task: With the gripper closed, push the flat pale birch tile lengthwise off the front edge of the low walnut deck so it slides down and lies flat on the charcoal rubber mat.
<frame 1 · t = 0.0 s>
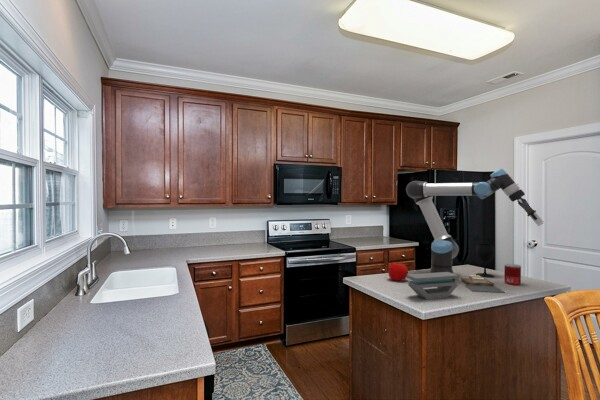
hand: (541, 224, 176), 36 cm above the counter, tool tilted 35°, fingers open, 13 cm apart
walnut deck: (476, 284, 187), on the counter
canned food: (512, 284, 188), on the counter
tomato: (398, 280, 195), on the counter
birch tile: (476, 280, 187), point 2 cm above the counter, touching walnut deck
rubber mat: (484, 289, 176), on the counter
wine glass: (484, 276, 207), on the counter
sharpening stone: (432, 296, 163), on the counter
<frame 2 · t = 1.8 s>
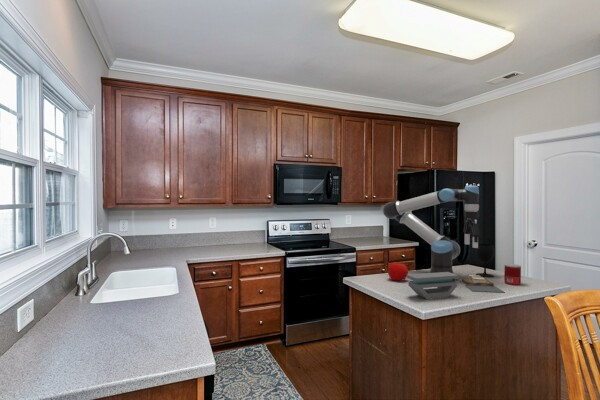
hand: (471, 246, 196), 21 cm above the counter, tool pointing down, fingers open, 13 cm apart
nothing on the counter moved.
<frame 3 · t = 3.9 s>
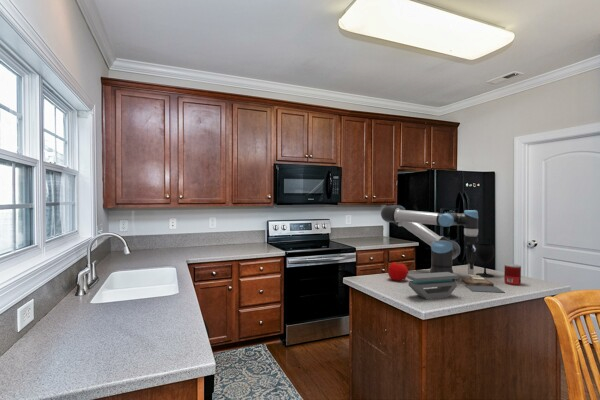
hand: (470, 274, 197), 3 cm above the counter, tool pointing down, fingers closed
nothing on the counter moved.
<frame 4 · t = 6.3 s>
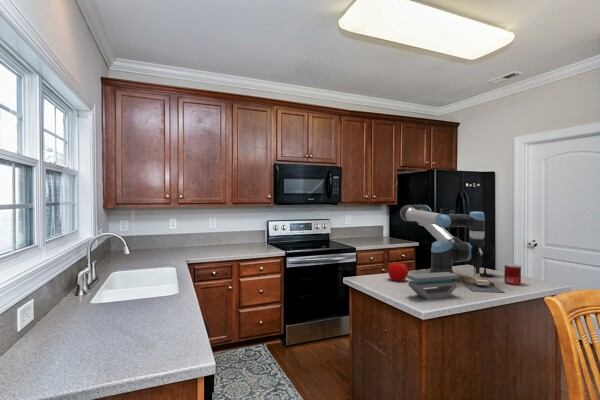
hand: (476, 278, 187), 3 cm above the counter, tool pointing down, fingers closed
birch tile: (480, 282, 182), point 2 cm above the counter, touching gripper
everything else where it was.
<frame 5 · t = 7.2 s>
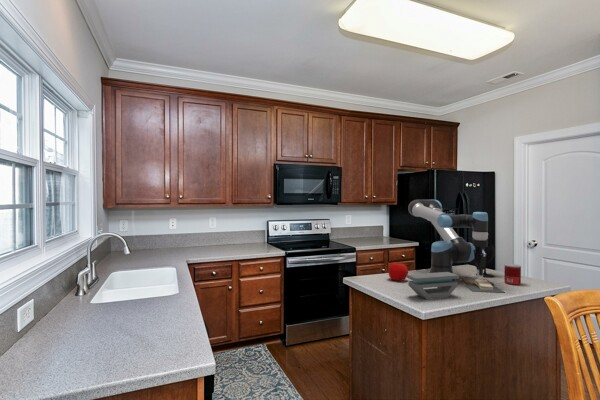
hand: (479, 280, 183), 3 cm above the counter, tool pointing down, fingers closed
birch tile: (483, 286, 178), point 1 cm above the counter, tilted 11°, touching rubber mat, walnut deck
everything else where it was.
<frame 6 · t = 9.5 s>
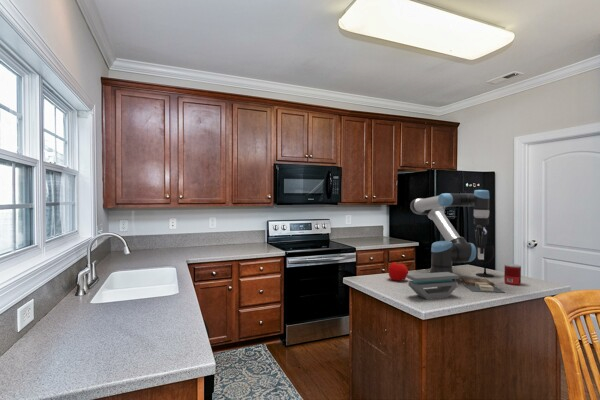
hand: (480, 259, 181), 16 cm above the counter, tool pointing down, fingers closed
birch tile: (484, 288, 177), resting on rubber mat
everything else where it was.
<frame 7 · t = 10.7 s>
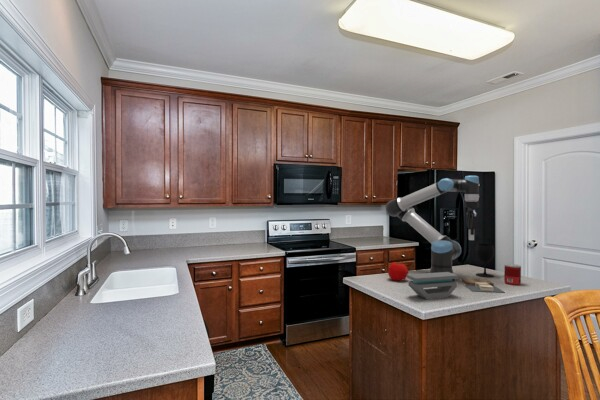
hand: (471, 239, 196), 24 cm above the counter, tool pointing down, fingers closed
nothing on the counter moved.
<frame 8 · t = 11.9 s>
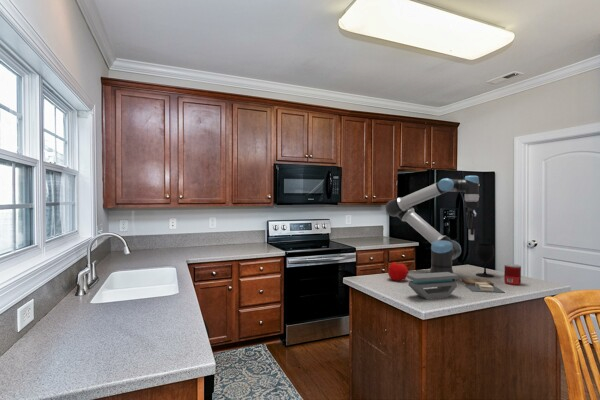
hand: (471, 239, 196), 24 cm above the counter, tool pointing down, fingers closed
nothing on the counter moved.
at the end: birch tile inside the target area (0.5 cm from its centre), resting on rubber mat; birch tile tilted 0°; birch tile touching rubber mat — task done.
